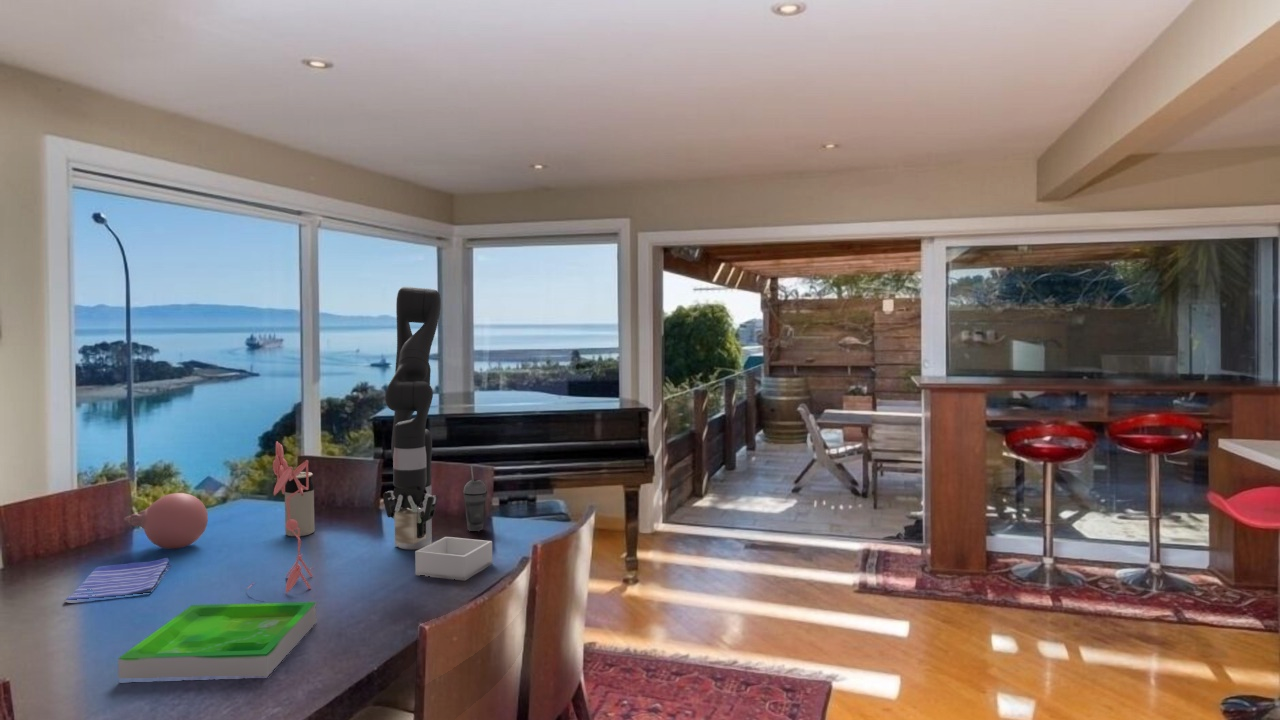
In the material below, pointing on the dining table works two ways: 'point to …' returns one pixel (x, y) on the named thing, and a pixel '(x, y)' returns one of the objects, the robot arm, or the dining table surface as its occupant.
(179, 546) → the pink water balloon
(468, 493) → the beverage cup
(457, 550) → the grey bin
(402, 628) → the dining table surface
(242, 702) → the dining table surface
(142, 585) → the dish towel
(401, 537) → the ash block
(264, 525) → the dining table surface
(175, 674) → the tray
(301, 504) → the travel mug
